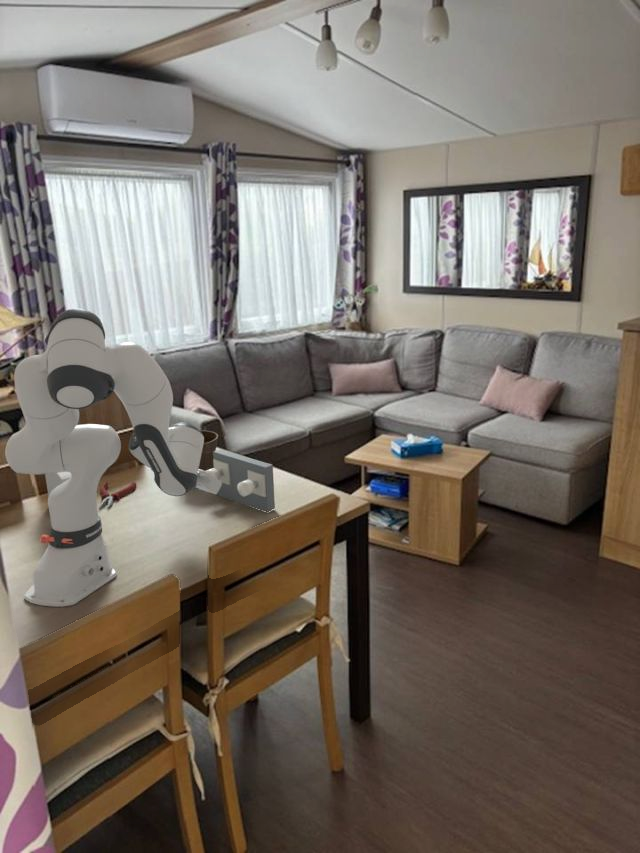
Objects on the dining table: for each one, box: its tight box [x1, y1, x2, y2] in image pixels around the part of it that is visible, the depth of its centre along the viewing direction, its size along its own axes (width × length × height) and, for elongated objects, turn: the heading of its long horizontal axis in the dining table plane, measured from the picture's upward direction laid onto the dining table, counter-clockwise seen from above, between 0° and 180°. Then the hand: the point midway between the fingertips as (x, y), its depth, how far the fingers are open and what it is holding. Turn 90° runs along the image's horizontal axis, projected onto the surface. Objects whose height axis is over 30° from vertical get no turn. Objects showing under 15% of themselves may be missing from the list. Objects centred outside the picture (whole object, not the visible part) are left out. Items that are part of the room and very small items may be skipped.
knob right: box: [237, 479, 258, 496], centre depth 191 cm, size 5×4×4 cm
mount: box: [213, 448, 276, 512], centre depth 200 cm, size 4×24×15 cm, turn 49°
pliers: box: [97, 481, 137, 510], centre depth 208 cm, size 11×20×3 cm, turn 2°
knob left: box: [206, 468, 223, 480], centre depth 201 cm, size 5×4×4 cm
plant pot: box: [199, 429, 219, 471], centre depth 218 cm, size 16×16×16 cm
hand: (206, 488), depth 179 cm, fingers closed
